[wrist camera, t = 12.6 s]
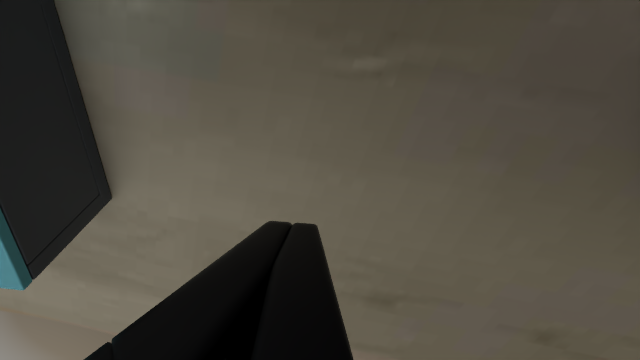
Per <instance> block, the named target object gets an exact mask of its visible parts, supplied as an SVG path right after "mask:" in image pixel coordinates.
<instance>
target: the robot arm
mask: <svg viewBox="0 0 640 360" xmlns="http://www.w3.org/2000/svg"><path fill="white" fill-rule="evenodd" d="M84 360H353V356H352V353H351V349H350V345H349V341H348V338H347V334H346V330H345V327H344V323H343V319H342V316H341V312H340V308H339V304H338V301H337V297H336V293H335V290H334V286H333V282H332V279H331V275H330V271H329V268H328V264H327V260H326V256H325V253H324V249H323V245H322V242H321V238H320V234H319V231H318V227H317V226H316V225H315V224H306V223H295V224H293V225H292V224H291V223H289V222H279V221H269V222H267V223H265V224H264V225H263V226H261V227H260V228H259V229H257V230H256V231H255V232H253V233H252V234H251V235H249V236H248V237H247V238H245V239H244V240H243V241H241V242H240V243H239V244H237V245H236V246H235V247H233V248H232V249H231V250H229V251H228V252H227V253H225V254H224V255H223V256H221V257H220V258H219V259H217V260H216V261H215V262H213V263H212V264H211V265H209V266H208V267H207V268H205V269H204V270H203V271H201V272H200V273H199V274H197V275H196V276H195V277H193V278H192V279H191V280H189V281H188V282H187V283H185V284H184V285H183V286H181V287H180V288H179V289H177V290H176V291H175V292H173V293H172V294H171V295H170V296H168V297H167V298H166V299H164V300H163V301H162V302H160V303H159V304H158V305H156V306H155V307H154V308H152V309H151V310H150V311H148V312H147V313H146V314H144V315H143V316H142V317H140V318H139V319H138V320H136V321H135V322H134V323H132V324H131V325H130V326H128V327H127V328H126V329H124V330H123V331H122V332H120V333H119V334H118V335H116V336H115V337H114V338H113V339H112V344H111V343H110V342H107V343H105V344H104V345H103V346H102V347H100V348H99V349H98V350H96V351H95V352H93V353H92V354H91V355H89V356H88V357H87V358H85V359H84Z"/></svg>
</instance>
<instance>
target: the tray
mask: <svg viewBox="0 0 640 360" xmlns="http://www.w3.org/2000/svg"><path fill="white" fill-rule="evenodd" d="M111 199H112V198H111V194H110V191H109V188H108V184H107V181H106V178H105V174H104V171H103V167H102V164H101V161H100V157H99V154H98V150H97V147H96V144H95V140H94V137H93V134H92V130H91V127H90V123H89V120H88V117H87V113H86V110H85V107H84V103H83V100H82V96H81V93H80V90H79V86H78V83H77V80H76V76H75V73H74V69H73V66H72V63H71V59H70V56H69V53H68V49H67V46H66V42H65V39H64V36H63V32H62V29H61V26H60V22H59V19H58V15H57V12H56V9H55V5H54V2H53V0H0V208H1V211H2V213H3V215H4V217H5V220H6V222H7V224H8V226H9V229H10V231H11V233H12V235H13V238H14V240H15V242H16V244H17V247H18V249H19V251H20V253H21V256H22V258H23V260H24V262H25V265H26V267H27V269H28V271H29V274H30V276H31V278H32V279H35V278H36V277H37V276H38V275H39V274H40V273H41V272H42V271H43V270H44V269H45V268H46V267H47V266H48V265H49V264H50V263H51V262H52V261H53V260H54V258H55V257H56V256H57V255H58V254H59V253H60V252H61V251H62V250H63V249H64V248H65V247H66V246H67V245H68V244H69V243H70V242H71V241H72V240H73V239H74V238H75V237H76V235H77V234H78V233H79V232H80V231H81V230H82V229H83V228H84V227H85V226H86V225H87V224H88V223H89V222H90V221H91V220H92V219H93V218H94V217H95V216H96V215H97V214H98V212H99V211H100V210H101V209H102V208H103V207H104V206H105V205H106V204H107V203H108V202H109V201H110V200H111Z"/></svg>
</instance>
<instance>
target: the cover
mask: <svg viewBox="0 0 640 360" xmlns="http://www.w3.org/2000/svg"><path fill="white" fill-rule="evenodd" d="M31 282H32V278H31V276H30V274H29V271H28V269H27V267H26V265H25V262H24V260H23V258H22V256H21V253H20V251H19V249H18V247H17V244H16V242H15V240H14V238H13V235H12V233H11V231H10V229H9V226H8V224H7V222H6V220H5V217H4V215H3V213H2V211H1V208H0V288H6V289H15V290H25V289H26V288H27V287H28V286H29V285H30V283H31Z"/></svg>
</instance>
